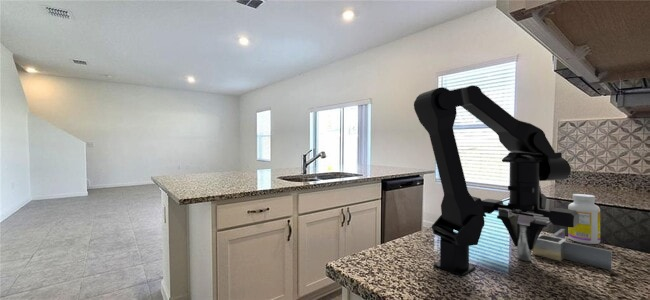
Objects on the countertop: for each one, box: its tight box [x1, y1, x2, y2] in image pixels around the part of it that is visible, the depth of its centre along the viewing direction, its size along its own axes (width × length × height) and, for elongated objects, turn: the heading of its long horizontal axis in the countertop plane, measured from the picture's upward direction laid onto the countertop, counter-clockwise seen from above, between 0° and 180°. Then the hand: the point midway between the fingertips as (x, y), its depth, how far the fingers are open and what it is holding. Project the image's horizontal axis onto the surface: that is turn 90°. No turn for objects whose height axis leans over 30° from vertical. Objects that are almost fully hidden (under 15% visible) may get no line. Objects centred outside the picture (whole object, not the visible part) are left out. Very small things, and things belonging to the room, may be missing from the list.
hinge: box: [532, 228, 613, 271], centre depth 69 cm, size 15×13×4 cm
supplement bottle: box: [567, 193, 601, 245], centre depth 79 cm, size 7×7×13 cm
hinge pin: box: [516, 222, 532, 262], centre depth 66 cm, size 3×3×8 cm
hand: (523, 247), depth 66 cm, fingers closed on hinge pin, 3 cm apart
